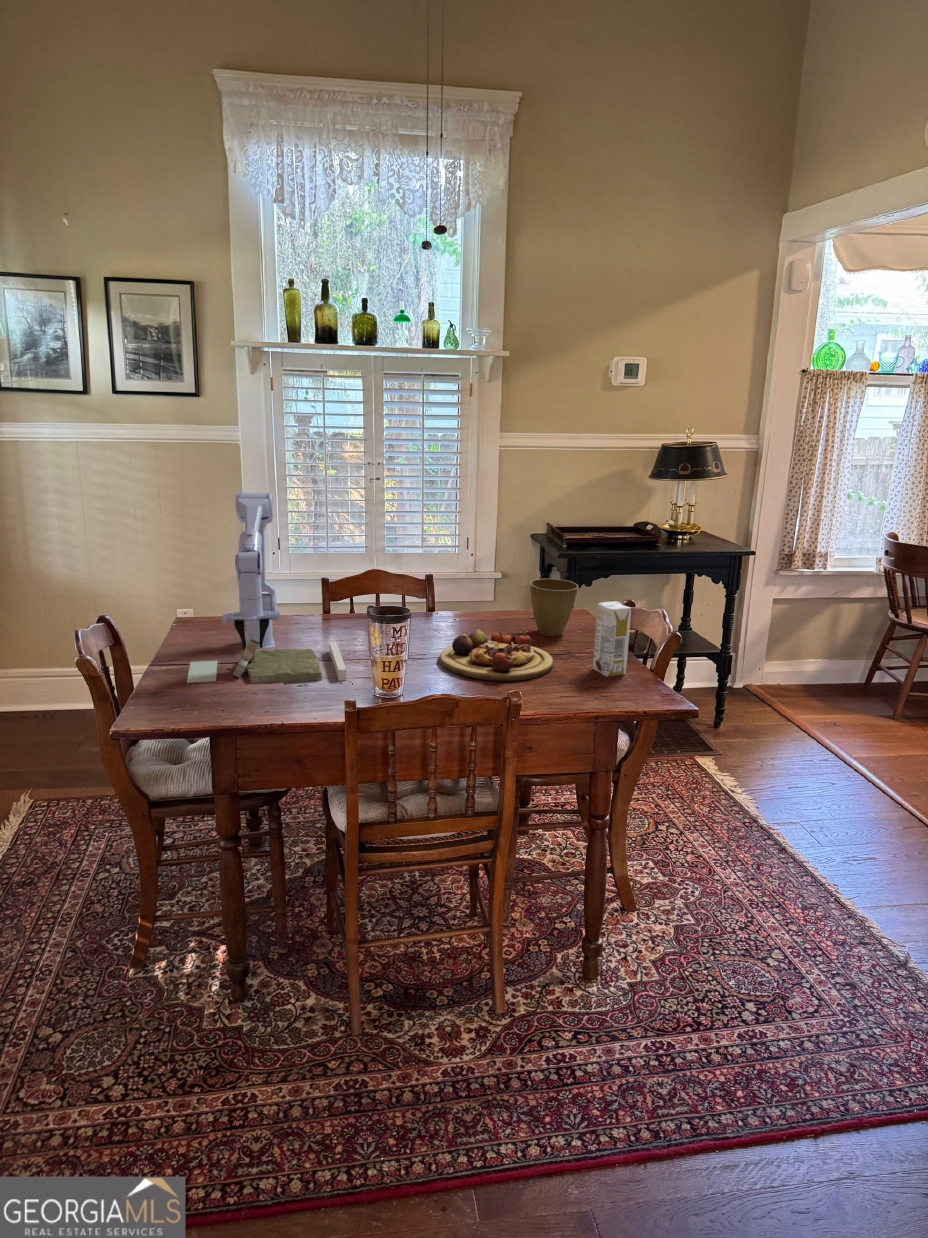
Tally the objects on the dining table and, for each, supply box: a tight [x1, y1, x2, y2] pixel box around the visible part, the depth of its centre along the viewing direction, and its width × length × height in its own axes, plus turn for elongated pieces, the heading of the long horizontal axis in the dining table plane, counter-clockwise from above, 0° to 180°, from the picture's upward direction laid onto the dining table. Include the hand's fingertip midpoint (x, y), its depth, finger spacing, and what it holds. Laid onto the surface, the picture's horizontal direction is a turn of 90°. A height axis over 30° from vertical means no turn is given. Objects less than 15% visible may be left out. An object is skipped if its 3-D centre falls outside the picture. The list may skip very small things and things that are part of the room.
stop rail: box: [328, 641, 347, 682], centre depth 221 cm, size 24×2×3 cm, turn 15°
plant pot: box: [529, 578, 579, 637], centre depth 254 cm, size 15×15×16 cm
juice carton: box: [592, 600, 632, 677], centre depth 220 cm, size 8×9×19 cm
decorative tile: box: [246, 648, 323, 684], centre depth 216 cm, size 19×20×4 cm
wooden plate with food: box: [439, 628, 555, 682], centre depth 226 cm, size 32×32×8 cm
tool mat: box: [186, 660, 218, 684], centre depth 212 cm, size 16×7×1 cm, turn 15°
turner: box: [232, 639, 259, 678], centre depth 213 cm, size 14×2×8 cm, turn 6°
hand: (252, 647), depth 214 cm, fingers closed on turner, 3 cm apart
